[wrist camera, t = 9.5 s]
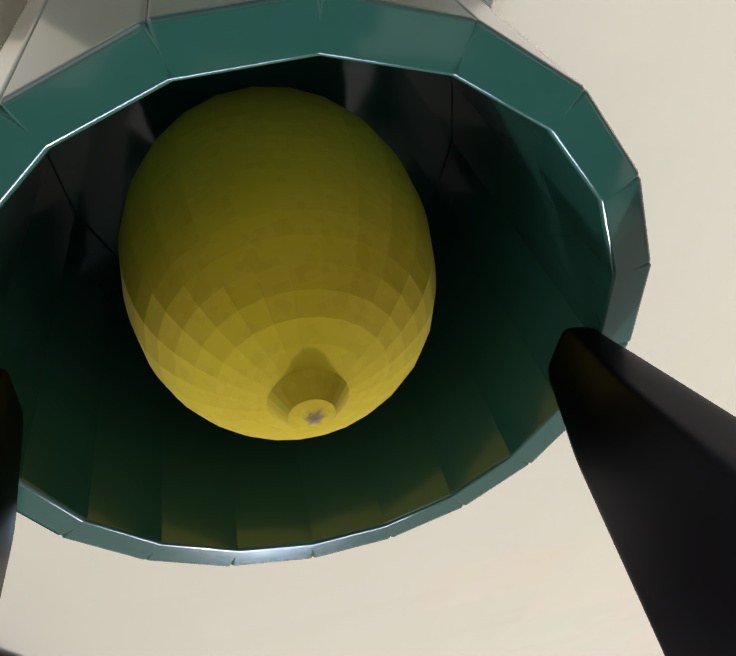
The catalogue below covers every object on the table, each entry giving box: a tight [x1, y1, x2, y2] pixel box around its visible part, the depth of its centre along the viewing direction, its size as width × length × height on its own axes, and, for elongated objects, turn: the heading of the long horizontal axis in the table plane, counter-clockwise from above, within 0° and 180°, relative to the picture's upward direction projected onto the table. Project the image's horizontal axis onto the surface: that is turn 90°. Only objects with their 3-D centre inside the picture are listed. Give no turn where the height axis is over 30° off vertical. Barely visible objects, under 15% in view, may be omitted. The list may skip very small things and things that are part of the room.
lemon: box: [118, 87, 436, 440], centre depth 12 cm, size 6×6×8 cm
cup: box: [0, 0, 651, 566], centre depth 12 cm, size 10×10×8 cm
